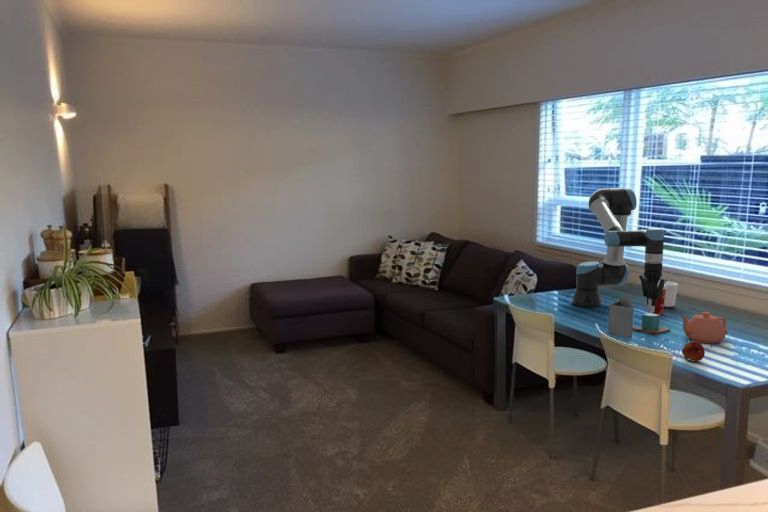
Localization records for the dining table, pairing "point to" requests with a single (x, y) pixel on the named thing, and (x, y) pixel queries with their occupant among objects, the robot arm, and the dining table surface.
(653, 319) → the cap
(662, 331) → the post block
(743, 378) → the dining table surface
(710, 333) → the teapot
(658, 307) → the coffee cup
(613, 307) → the planter
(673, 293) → the cup
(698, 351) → the fruit
